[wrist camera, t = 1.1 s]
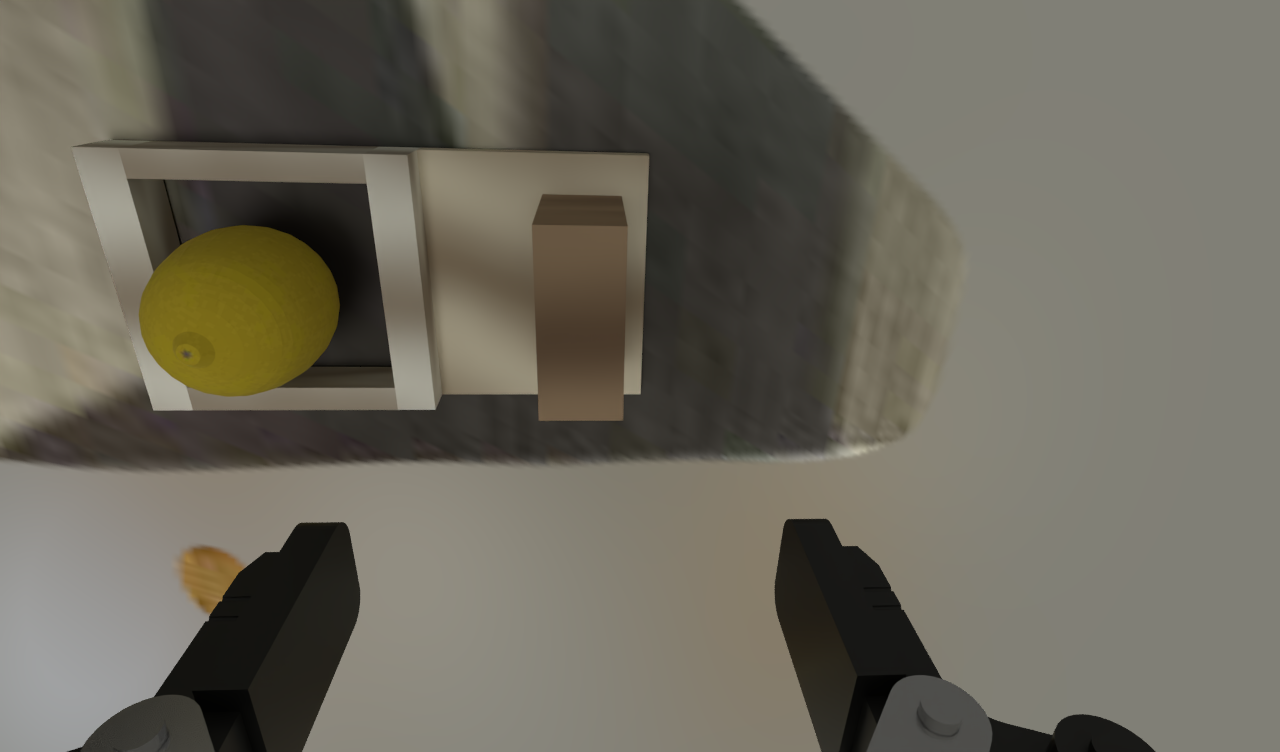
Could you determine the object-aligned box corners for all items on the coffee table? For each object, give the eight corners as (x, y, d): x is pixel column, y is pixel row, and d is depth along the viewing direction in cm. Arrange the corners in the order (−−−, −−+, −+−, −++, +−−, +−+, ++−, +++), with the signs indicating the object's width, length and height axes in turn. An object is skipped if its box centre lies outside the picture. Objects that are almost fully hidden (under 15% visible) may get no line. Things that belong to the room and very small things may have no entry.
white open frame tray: (109, 139, 24) (-17, 162, 19) (648, 153, 26) (661, 178, 21) (180, 387, 29) (93, 459, 24) (639, 388, 30) (649, 455, 25)
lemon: (374, 227, 26) (293, 293, 19) (356, 352, 29) (277, 453, 22) (223, 186, 26) (79, 240, 18) (217, 319, 28) (85, 414, 20)
